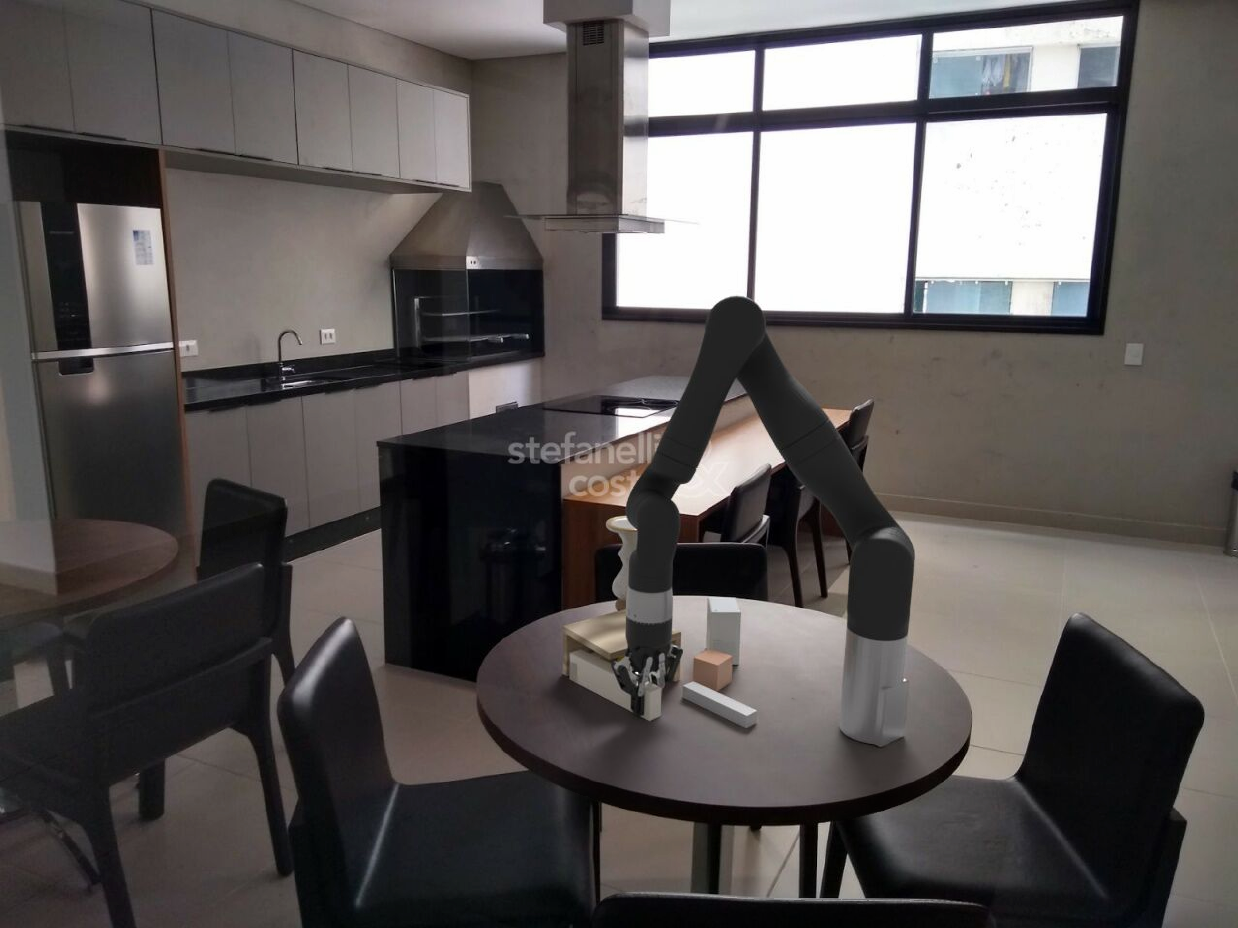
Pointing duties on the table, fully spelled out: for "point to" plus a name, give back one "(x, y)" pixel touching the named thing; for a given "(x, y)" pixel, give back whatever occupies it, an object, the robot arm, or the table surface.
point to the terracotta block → (713, 669)
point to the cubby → (603, 638)
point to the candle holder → (623, 556)
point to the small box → (723, 626)
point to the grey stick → (720, 704)
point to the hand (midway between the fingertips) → (646, 710)
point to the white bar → (610, 682)
